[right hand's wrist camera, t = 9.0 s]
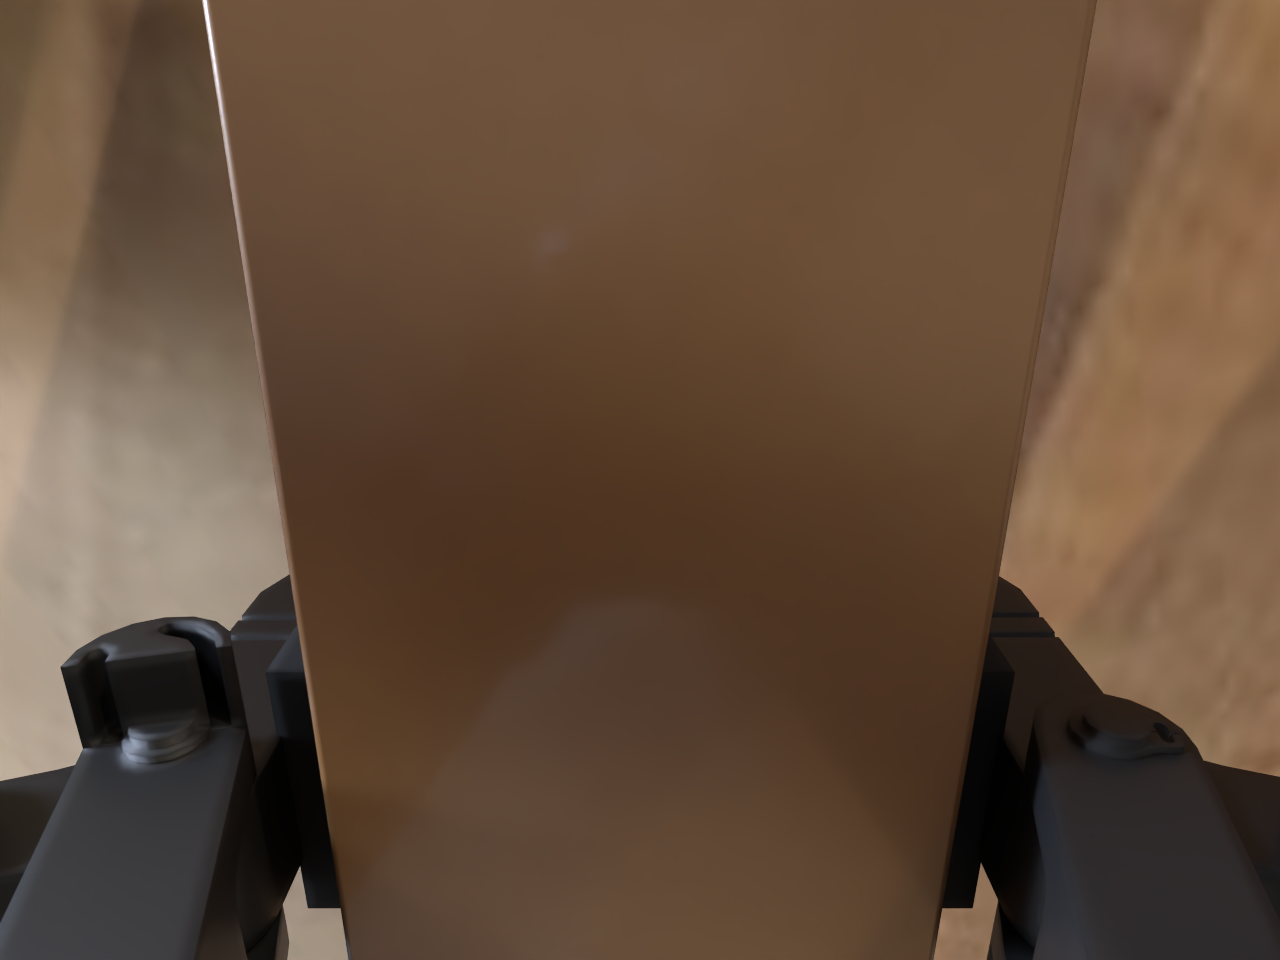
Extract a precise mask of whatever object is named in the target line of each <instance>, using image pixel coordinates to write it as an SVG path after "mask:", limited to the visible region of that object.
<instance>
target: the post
mask: <svg viewBox="0 0 1280 960" xmlns="http://www.w3.org/2000/svg"><path fill="white" fill-rule="evenodd" d="M202 2H203V9H204V16H205V22H206V29H207V35H208V42H209V48H210V55H211V61H212V68H213V75H214V81H215V88H216V94H217V101H218V107H219V114H220V120H221V127H222V134H223V140H224V147H225V153H226V160H227V166H228V173H229V179H230V186H231V192H232V199H233V206H234V212H235V219H236V225H237V232H238V238H239V245H240V251H241V258H242V265H243V271H244V278H245V284H246V291H247V297H248V304H249V310H250V317H251V323H252V330H253V337H254V343H255V350H256V356H257V363H258V369H259V376H260V382H261V389H262V396H263V402H264V409H265V415H266V422H267V428H268V435H269V441H270V448H271V454H272V461H273V468H274V474H275V481H276V487H277V494H278V500H279V507H280V513H281V520H282V527H283V533H284V540H285V546H286V553H287V559H288V566H289V572H290V579H291V585H292V592H293V599H294V605H295V612H296V618H297V625H298V631H299V638H300V644H301V651H302V658H303V664H304V671H305V677H306V684H307V690H308V697H309V703H310V710H311V716H312V723H313V730H314V736H315V743H316V749H317V756H318V762H319V769H320V775H321V782H322V789H323V795H324V802H325V808H326V815H327V821H328V828H329V834H330V841H331V848H332V854H333V861H334V867H335V874H336V880H337V887H338V893H339V900H340V906H341V913H342V920H343V926H344V933H345V939H346V946H347V952H348V959H349V960H933V959H934V953H935V947H936V941H937V935H938V929H939V923H940V918H941V912H942V906H943V900H944V894H945V888H946V882H947V876H948V871H949V865H950V859H951V853H952V847H953V841H954V835H955V830H956V824H957V818H958V812H959V806H960V800H961V794H962V788H963V783H964V777H965V771H966V765H967V759H968V753H969V747H970V742H971V736H972V730H973V724H974V718H975V712H976V706H977V700H978V695H979V689H980V683H981V677H982V671H983V665H984V659H985V654H986V648H987V642H988V636H989V630H990V624H991V618H992V612H993V607H994V601H995V595H996V589H997V583H998V577H999V571H1000V566H1001V560H1002V554H1003V548H1004V542H1005V536H1006V530H1007V524H1008V519H1009V513H1010V507H1011V501H1012V495H1013V489H1014V483H1015V478H1016V472H1017V466H1018V460H1019V454H1020V448H1021V442H1022V436H1023V431H1024V425H1025V419H1026V413H1027V407H1028V401H1029V395H1030V390H1031V384H1032V378H1033V372H1034V366H1035V360H1036V354H1037V348H1038V343H1039V337H1040V331H1041V325H1042V319H1043V313H1044V307H1045V302H1046V296H1047V290H1048V284H1049V278H1050V272H1051V266H1052V260H1053V255H1054V249H1055V243H1056V237H1057V231H1058V225H1059V219H1060V214H1061V208H1062V202H1063V196H1064V190H1065V184H1066V178H1067V172H1068V167H1069V161H1070V155H1071V149H1072V143H1073V137H1074V131H1075V126H1076V120H1077V114H1078V108H1079V102H1080V96H1081V90H1082V84H1083V79H1084V73H1085V67H1086V61H1087V55H1088V49H1089V43H1090V38H1091V32H1092V26H1093V20H1094V14H1095V8H1096V2H1097V0H202Z"/></svg>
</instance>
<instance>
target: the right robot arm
mask: <svg viewBox="0 0 1280 960" xmlns="http://www.w3.org/2000/svg"><path fill="white" fill-rule="evenodd" d="M1054 634H1055V632H1054V631H1053V630H1052V628H1051V627H1050V626H1049V625H1048V623H1047V622H1046V621H1045V620H1044V618H1043V617H1039V612H1038V611H1037V610H1036V608H1035V607H1034V606H1033V605H1032V603H1031V602H1030V601H1029V600H1028V598H1027V597H1026V596H1025V595H1024V593H1023V592H1022V591H1021V590H1020V589H1019V588H1017V587H1016V586H1014V585H1013V584H1011V583H1009V582H1008V581H1006V580H1004V579H1003V578H1001V577H1000V576H999V577H998V583H997V589H996V595H995V601H994V607H993V612H992V618H991V624H990V630H989V636H988V642H987V648H986V654H985V659H984V665H983V671H982V677H981V683H980V689H979V695H978V700H977V706H976V712H975V718H974V724H973V730H972V736H971V742H970V747H969V753H968V759H967V765H966V771H965V777H964V783H963V788H962V794H961V800H960V806H959V812H958V818H957V824H956V830H955V835H954V841H953V847H952V853H951V859H950V865H949V871H948V876H947V882H946V888H945V894H944V900H943V906H942V908H973V903H974V898H975V892H976V886H977V881H978V875H979V870H980V864H981V863H982V865H983V868H984V870H985V872H986V874H987V876H988V879H989V881H990V883H991V885H992V887H993V890H994V892H995V894H996V896H997V898H998V904H997V909H996V915H995V920H994V925H993V930H992V935H991V940H990V945H989V951H988V956H987V960H1280V777H1277V776H1272V775H1267V774H1262V773H1257V772H1252V771H1247V770H1242V769H1237V768H1232V767H1227V766H1222V765H1218V764H1215V763H1211V762H1207V761H1203V759H1202V757H1201V755H1200V753H1199V751H1198V749H1197V747H1196V746H1195V744H1194V743H1193V742H1192V741H1191V739H1190V738H1189V737H1188V736H1187V734H1186V733H1185V732H1184V731H1183V729H1182V728H1180V727H1179V726H1177V725H1176V724H1174V723H1173V722H1171V721H1170V720H1169V719H1167V718H1166V717H1164V716H1163V715H1161V714H1160V713H1158V712H1156V711H1154V710H1152V709H1149V708H1147V707H1145V706H1142V705H1140V704H1138V703H1135V702H1133V701H1131V700H1128V699H1123V698H1119V697H1115V696H1110V695H1106V694H1104V693H1103V692H1102V691H1101V690H1100V688H1099V687H1098V686H1097V685H1096V683H1095V682H1094V681H1093V680H1092V678H1091V677H1090V676H1089V675H1088V673H1087V672H1086V671H1085V670H1084V668H1083V667H1082V666H1081V665H1080V663H1079V662H1078V661H1077V660H1076V658H1075V657H1074V656H1073V655H1072V653H1071V652H1070V651H1069V650H1068V648H1067V647H1066V646H1065V645H1064V643H1063V642H1062V641H1061V640H1060V638H1059V637H1055V635H1054ZM61 671H62V675H63V678H64V682H65V685H66V689H67V693H68V696H69V700H70V703H71V707H72V710H73V714H74V718H75V721H76V725H77V728H78V732H79V736H80V739H81V743H82V746H83V750H82V752H81V754H80V757H79V759H78V761H77V763H76V765H74V766H70V767H66V768H62V769H59V770H54V771H49V772H44V773H39V774H34V775H29V776H24V777H19V778H14V779H9V780H4V781H0V960H287V956H288V948H289V939H288V932H287V925H286V920H285V915H284V909H283V902H284V900H285V898H286V896H287V893H288V891H289V889H290V887H291V885H292V882H293V880H294V878H295V876H296V874H297V871H298V869H299V867H300V866H301V872H302V878H303V883H304V889H305V894H306V900H307V905H308V908H341V906H340V900H339V893H338V887H337V880H336V874H335V867H334V861H333V854H332V848H331V841H330V834H329V828H328V821H327V815H326V808H325V802H324V795H323V789H322V782H321V775H320V769H319V762H318V756H317V749H316V743H315V736H314V730H313V723H312V716H311V710H310V703H309V697H308V690H307V684H306V677H305V671H304V664H303V658H302V651H301V644H300V638H299V631H298V625H297V618H296V612H295V605H294V599H293V592H292V585H291V579H290V575H288V576H286V577H285V578H283V579H281V580H280V581H278V582H277V583H275V584H273V585H272V586H270V587H269V588H267V589H265V590H264V591H262V592H261V593H260V594H259V595H258V596H257V598H256V599H255V600H254V602H253V603H252V604H251V605H250V607H249V608H248V609H247V610H246V612H245V613H244V614H243V615H242V621H238V622H237V623H236V624H235V626H234V627H233V628H232V629H231V631H228V630H227V629H226V628H224V627H223V626H222V625H220V624H219V623H218V622H216V621H212V620H207V619H202V618H197V617H166V618H160V619H155V620H150V621H145V622H140V623H135V624H131V625H129V626H126V627H123V628H120V629H118V630H115V631H112V632H110V633H107V634H104V635H102V636H100V637H98V638H97V639H95V640H93V641H92V642H90V643H88V644H86V645H85V646H83V647H81V648H80V649H78V650H76V651H75V653H74V654H73V655H72V656H71V657H70V658H69V659H68V660H67V661H66V662H65V663H64V664H63V665H62V666H61Z"/></svg>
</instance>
